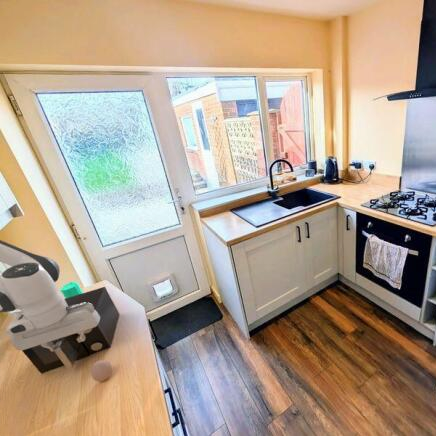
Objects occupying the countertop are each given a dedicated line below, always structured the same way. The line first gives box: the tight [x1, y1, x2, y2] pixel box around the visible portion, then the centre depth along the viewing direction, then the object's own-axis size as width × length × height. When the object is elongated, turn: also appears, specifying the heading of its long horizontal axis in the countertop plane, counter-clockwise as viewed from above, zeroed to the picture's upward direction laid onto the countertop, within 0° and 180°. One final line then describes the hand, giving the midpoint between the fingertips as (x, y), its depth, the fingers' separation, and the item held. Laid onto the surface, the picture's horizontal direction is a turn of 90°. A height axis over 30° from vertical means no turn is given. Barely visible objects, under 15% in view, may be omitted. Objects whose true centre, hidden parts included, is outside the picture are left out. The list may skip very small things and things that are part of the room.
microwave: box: [64, 286, 121, 355], centre depth 89 cm, size 18×20×15 cm
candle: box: [60, 281, 84, 299], centre depth 109 cm, size 6×6×12 cm
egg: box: [90, 359, 113, 382], centre depth 77 cm, size 5×5×7 cm
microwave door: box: [21, 333, 91, 375], centre depth 79 cm, size 7×14×15 cm, turn 114°
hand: (69, 344), depth 79 cm, fingers open, 6 cm apart
